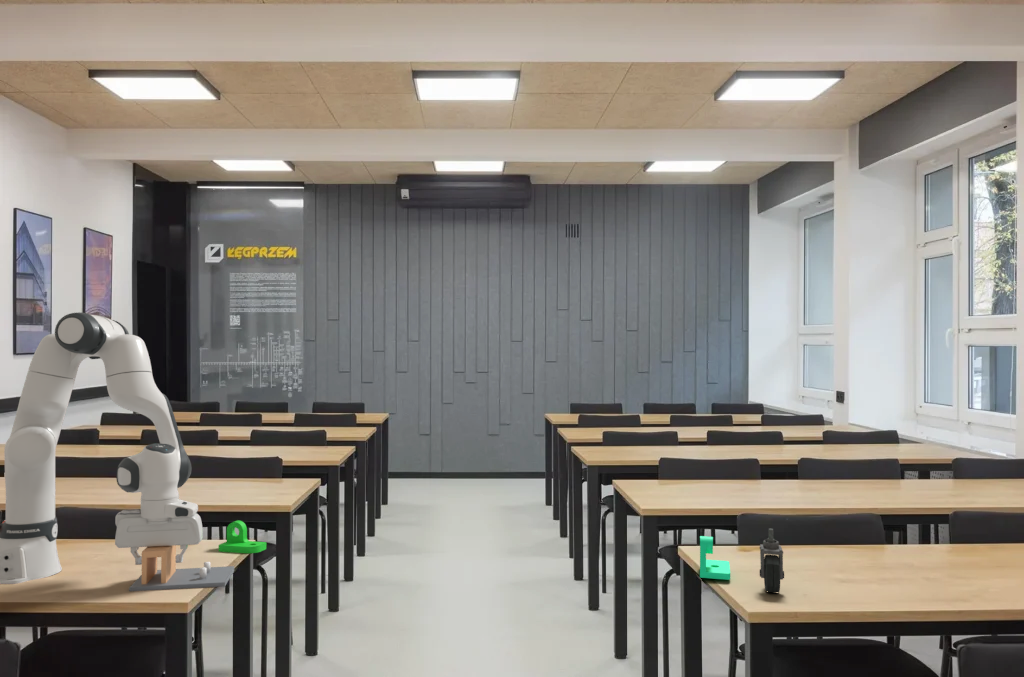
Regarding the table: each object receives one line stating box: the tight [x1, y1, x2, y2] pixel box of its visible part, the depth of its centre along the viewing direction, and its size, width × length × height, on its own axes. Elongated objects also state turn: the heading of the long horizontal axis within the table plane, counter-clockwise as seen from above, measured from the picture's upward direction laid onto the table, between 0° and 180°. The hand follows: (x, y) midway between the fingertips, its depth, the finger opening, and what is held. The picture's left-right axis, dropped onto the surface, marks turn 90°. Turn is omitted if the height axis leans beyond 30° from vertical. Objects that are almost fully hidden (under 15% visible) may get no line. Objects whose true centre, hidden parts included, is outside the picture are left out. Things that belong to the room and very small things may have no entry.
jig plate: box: [128, 561, 235, 592], centre depth 191 cm, size 22×14×4 cm, turn 101°
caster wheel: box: [759, 528, 785, 593], centre depth 185 cm, size 6×10×15 cm, turn 165°
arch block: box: [141, 545, 177, 584], centre depth 190 cm, size 6×10×8 cm, turn 11°
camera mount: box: [699, 535, 731, 580], centre depth 199 cm, size 12×8×10 cm, turn 166°
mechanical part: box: [218, 519, 267, 554], centre depth 222 cm, size 12×6×8 cm, turn 77°
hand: (159, 563), depth 190 cm, fingers open, 8 cm apart
